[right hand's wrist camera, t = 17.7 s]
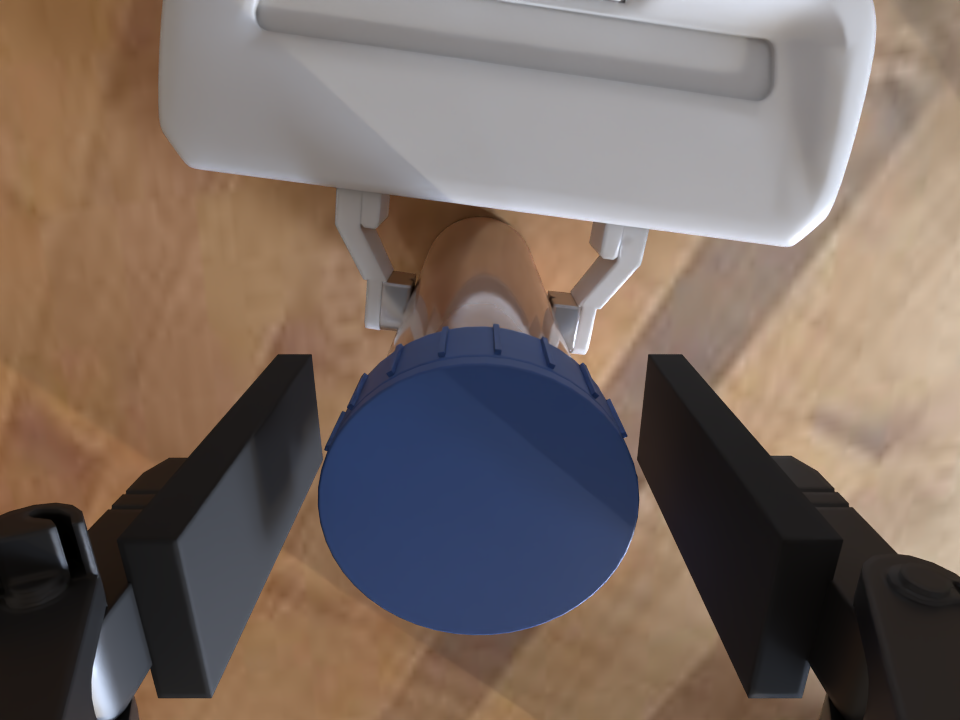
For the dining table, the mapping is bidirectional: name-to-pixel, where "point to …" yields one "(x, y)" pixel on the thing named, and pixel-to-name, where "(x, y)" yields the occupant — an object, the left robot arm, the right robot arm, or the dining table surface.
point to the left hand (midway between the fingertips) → (477, 337)
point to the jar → (479, 285)
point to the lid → (478, 483)
